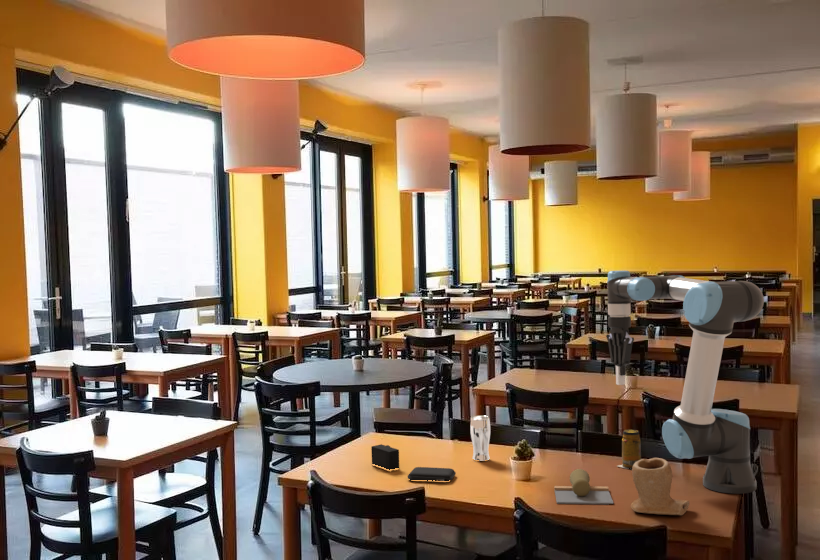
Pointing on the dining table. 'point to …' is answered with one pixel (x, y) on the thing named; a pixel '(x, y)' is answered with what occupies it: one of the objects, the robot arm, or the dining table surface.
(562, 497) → the mat
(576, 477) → the cork
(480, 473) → the dining table surface
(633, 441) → the condiment
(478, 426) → the beer glass
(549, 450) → the dining table surface
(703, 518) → the dining table surface
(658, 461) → the stone cup
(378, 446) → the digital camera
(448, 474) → the carrying case or bag
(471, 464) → the dining table surface
